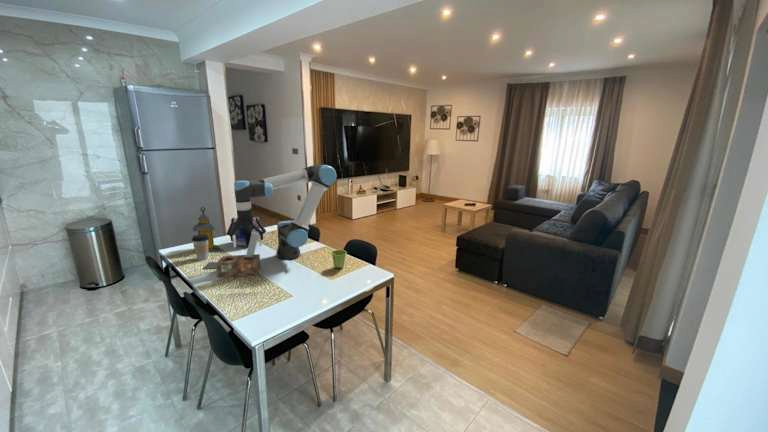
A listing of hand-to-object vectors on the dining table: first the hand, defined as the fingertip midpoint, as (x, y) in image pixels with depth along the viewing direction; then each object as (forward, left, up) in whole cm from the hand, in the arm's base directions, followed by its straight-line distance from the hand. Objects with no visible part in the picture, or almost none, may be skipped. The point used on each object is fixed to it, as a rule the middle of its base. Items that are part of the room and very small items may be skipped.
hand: (248, 246), depth 171 cm
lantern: (+36, -42, -15) cm, 58 cm away
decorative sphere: (+13, -49, -15) cm, 53 cm away
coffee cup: (+33, -25, -15) cm, 44 cm away
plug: (0, 0, -6) cm, 6 cm away
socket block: (+5, 0, -15) cm, 16 cm away
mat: (+22, -12, -15) cm, 29 cm away
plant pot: (-51, -1, -15) cm, 53 cm away
